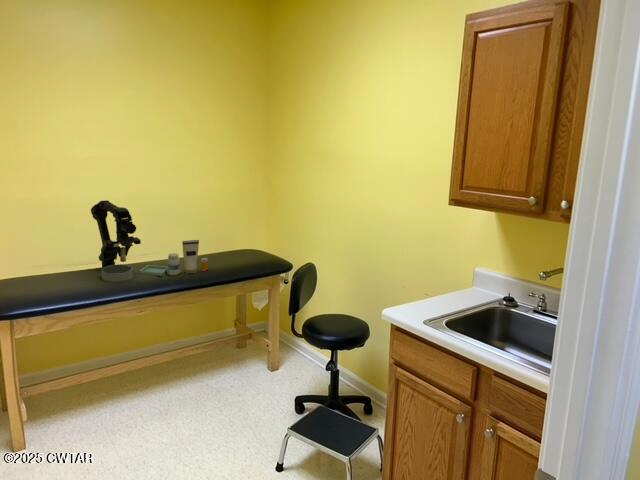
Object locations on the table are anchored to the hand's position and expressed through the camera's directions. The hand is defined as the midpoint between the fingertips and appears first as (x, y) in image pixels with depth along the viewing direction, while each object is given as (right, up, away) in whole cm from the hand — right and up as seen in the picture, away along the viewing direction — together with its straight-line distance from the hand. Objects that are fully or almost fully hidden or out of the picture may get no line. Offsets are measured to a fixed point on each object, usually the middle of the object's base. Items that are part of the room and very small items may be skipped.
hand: (123, 256), depth 259 cm
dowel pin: (0, -3, +1) cm, 3 cm away
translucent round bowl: (-4, -12, +1) cm, 13 cm away
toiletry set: (+32, -11, +19) cm, 39 cm away
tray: (+13, -10, +14) cm, 22 cm away
